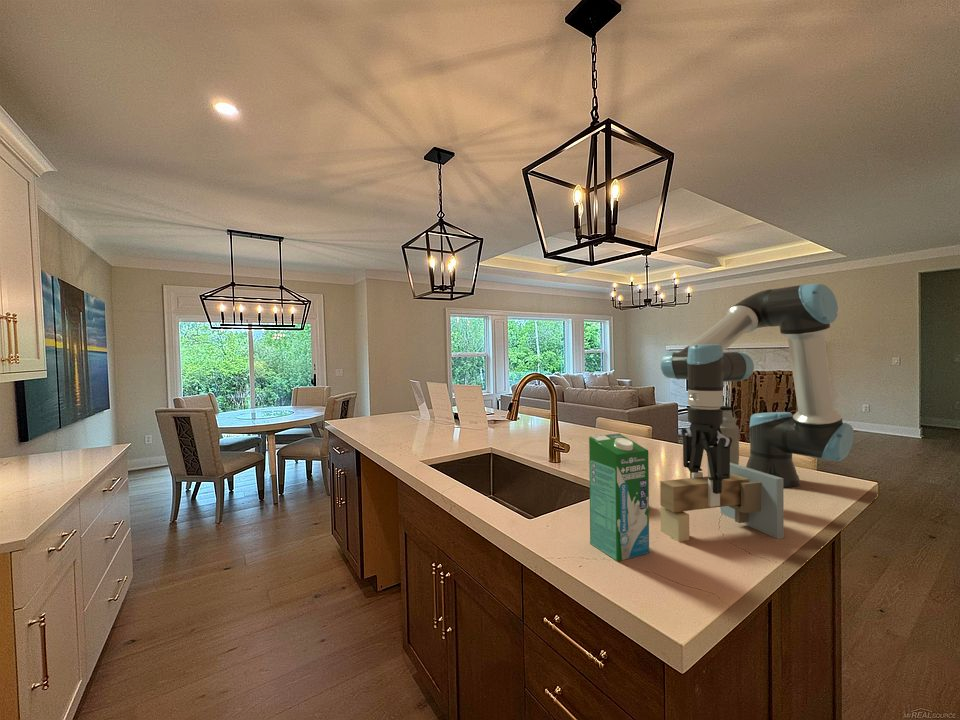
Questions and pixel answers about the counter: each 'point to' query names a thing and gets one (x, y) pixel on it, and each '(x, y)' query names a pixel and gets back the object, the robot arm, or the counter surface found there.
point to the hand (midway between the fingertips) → (705, 501)
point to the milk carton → (619, 496)
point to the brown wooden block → (698, 493)
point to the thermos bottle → (730, 434)
